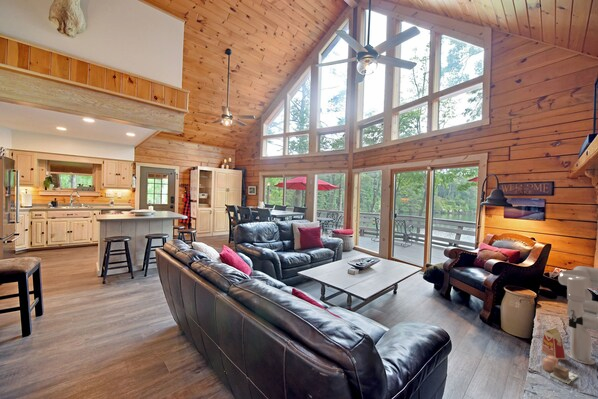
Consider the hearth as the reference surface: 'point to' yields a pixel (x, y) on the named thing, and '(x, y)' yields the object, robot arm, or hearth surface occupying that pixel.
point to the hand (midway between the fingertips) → (575, 325)
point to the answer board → (568, 380)
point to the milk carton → (553, 343)
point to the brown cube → (561, 372)
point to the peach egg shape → (553, 359)
